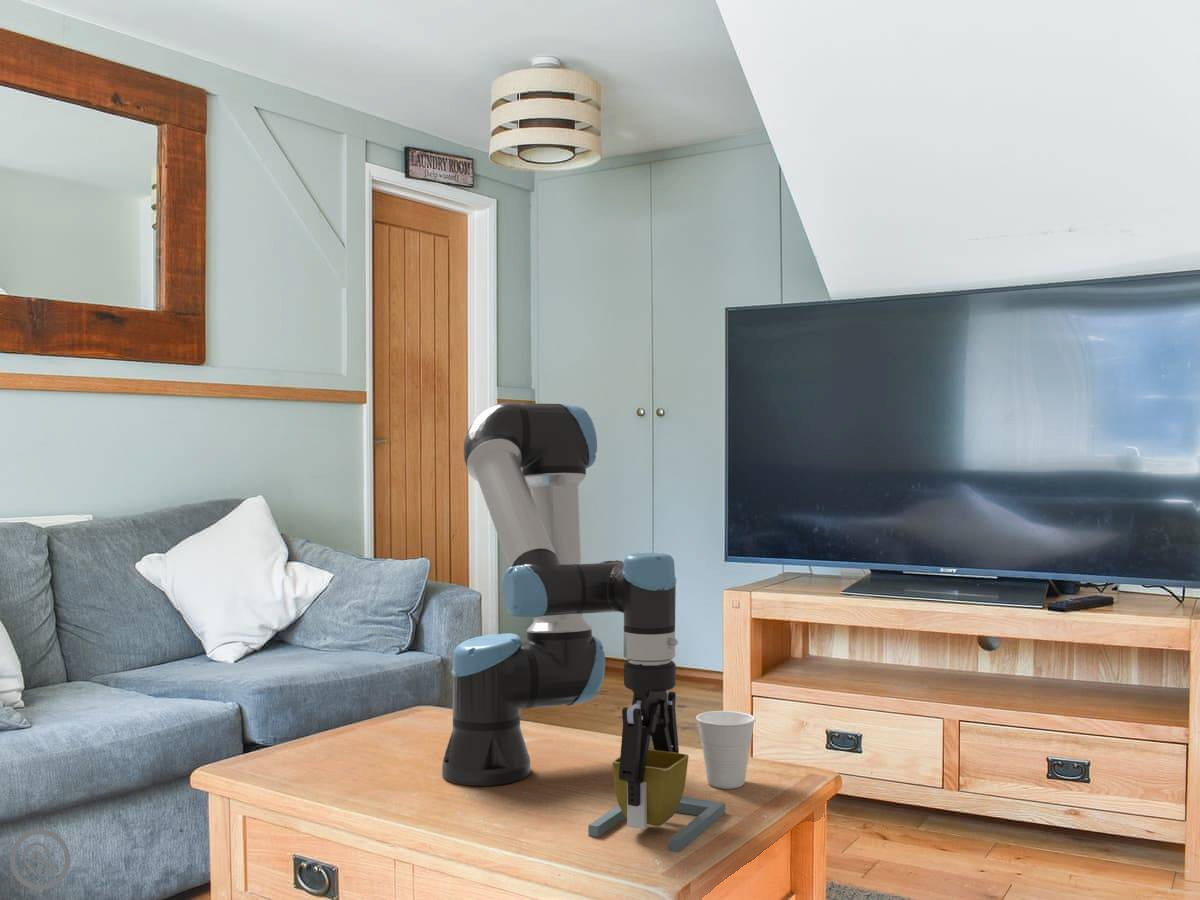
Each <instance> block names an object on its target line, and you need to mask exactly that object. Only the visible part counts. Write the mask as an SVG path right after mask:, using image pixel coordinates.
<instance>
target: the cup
mask: <svg viewBox="0 0 1200 900" xmlns="http://www.w3.org/2000/svg"><path fill="white" fill-rule="evenodd" d="M695 720H696V722H697V725H698V733H699V738H700V739H699V740H700V742H701V750H702V755H703V761H704V766H705V767H704V768H705V775H706V780H707V783H708V784H709V785H710V786H711V787H713V788H717V789H725V790H730V789H731V790H732V789H737V788H741V787H742V786H743V785H744V784H745V783H746V777H747V768H748V763H749V756H750V755H749V754H750V748H751V744H752V737H753V730H754V724H755V722H756V717H755V716H753V715H752V714H749V713H746V712H741V711H733V710H713V711H705V712H702V713H698V714H697V715H696V717H695Z"/></svg>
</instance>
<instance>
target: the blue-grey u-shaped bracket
mask: <svg viewBox="0 0 1200 900" xmlns="http://www.w3.org/2000/svg"><path fill="white" fill-rule="evenodd" d="M675 813H679V814H686V815H691V816H692V815H693V816H696V817H695V818H693V819H692V820H691V821H690V822H688V823H687V824H686V825H684V826H683V827H682V828H681V829H680V830H678V831H677V832H676V833H675V834H673V835H672V836H671V837H670V838H668V850H669V851H673V852H678V853H680V851H682V850H683V849H684V848H685V847H687V846H688V845H690V843H692V842H693V841H694V840H695V839H696V838H697V837H699V836H700V835H701V834H702V833H704V831H706V830H707V829H708V828H710V827H711V826H712V825H713V824H714V823H715V822H716V821H718V820H719V819H720V818H722V816H723V815H724V814H726V802H721V801H715V800H714V801H713V800H708V799H707V800H706V799H700V798H695V797H690V796H689V797H688V796H687V797H686V796H682V798H681V801H680V803H679V805H678V807H677V809H676V811H675ZM625 819H627V818H626V817H625V815H624V814H623V812H622V810H621V808H620V806H619V804H618V805H616V806H615V807H614V808H612V809H611V810H609V811H608V812H606V813H604V814H603V815H602V816H600V817H599V818H596V820H594V821H592V822H590V823H589V824H588V833H587V834H588V836H587V837H589V836H590V837H595V838H599V837H601V836H602V835H603V834H605V833H606V832H607V831H609V830H610V829H612V828H613V827H615V826H617V825H618V824H620V823H621V822H623V821H624V820H625Z"/></svg>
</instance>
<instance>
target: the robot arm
mask: <svg viewBox="0 0 1200 900" xmlns="http://www.w3.org/2000/svg"><path fill="white" fill-rule="evenodd" d="M597 452H598V439H597V431H596V427H595V425H594V422H593V419H592V418H591V416H590V414H588V412H587V411H586V409H584V408H583V407H581V406H579V405H572V404H564V403H529V402H528V403H526V402H524V403H522V402H521V403H517V402H516V403H515V402H502V403H499V404H495V405H492V406H490V407H489V408H487V409H486V410H484V411H482V412H481V413H480V414H479V415H478V416H477V417H476V418H475V419H474V420H473V422H472V423H471V425H470V426H469V428H468V429H467V432H466V435H465V439H464V441H463V459H464V463H465V466H466V469H467V471H468V473H469V476H471V478H472V479H473V480H475V481H477V482H478V485H479V488H480V490H481V494H482V495H483V498H484V501H485V503H486V507H487V510H488V512H489V516H490V517H491V521H492V523H493V526H494V529H495V532H496V534H497V538H498V540H499V542H500V545H501V548H502V550H503V554H504V556H505V558H506V562H507V564H508V568H507V569H506V570H505V572H504V574H503V578H502V582H501V583H502V585H501V594H502V596H503V597H502V598H503V599H502V600H503V601H502V602H503V606H504V609H505V610H506V611H507V613H508V614H509V615H510V616H512V617H519V618H520V617H523V618H534V621H533V622H532V624H531V625H530V626H529V627H528V628H527V629H526V634H527V636H526V640H525V641H522V640H521V638H520V636H519V635H518V634H515V633H508V632H506V633H499V634H498V633H493V634H492V633H491V634H486V635H481V636H480V635H479V636H476V637H472V638H470V639H467V640H464V641H463V642H461V643H459V644H458V645H457V646H456V647H455V648H454V651H453V655H452V657H453V658H452V668H451V676H452V731H451V733H450V737H449V740H448V743H447V745H446V748H445V749H446V750H445V753H444V757H443V759H442V764H441V765H442V766H441V767H442V772H441V774H442V777H443V778H444V780H446V781H448V782H451V783H453V784H454V783H455V784H457V785H458V784H459V785H464V786H477V787H480V786H481V787H482V786H483V787H486V786H487V787H488V786H498V785H505V784H510V783H515V782H518V781H522V780H523V779H525V778H527V777H528V776H529V775H530V774H531V758H530V755H529V752H528V748H527V746H526V745H527V744H526V742H525V738H524V735H523V732H522V730H521V711H522V710H528V709H529V710H530V709H537V708H539V709H540V708H548V707H549V708H550V707H555V706H556V707H557V706H569V707H571V706H575V705H576V704H577V705H578V704H583V703H588V702H590V701H592V700H593V699H594V698H595V697H596V696H597V695H598V693H599V691H600V689H601V688H602V685H603V682H604V678H605V677H604V676H605V674H606V673H605V671H606V656H605V651H604V646H603V642H602V641H601V640H600V639H599V638H598V637H597V636H594V635H593V634H592V633H593V632H592V630H593V629H592V626H591V625H590V624H589V623H588V622H587V621H586V620H585V619H584V616H583V615H584V614H600V613H602V614H603V613H616V612H617V613H621V614H623V658H624V659H626V661H625V662H624V663H623V683H624V684H623V685H624V687H625V688H626V689H628V690H630V691H632V692H633V696H632V701H631V706H630V707H622V711H621V715H622V731H621V745H620V756H619V757H620V768H619V779H620V780H623V781H627V818H626V827H628V828H634V829H640V830H646V829H648V827H647V826H648V825H647V781H643V779H644V773H645V767H646V761H647V755H648V749H649V743H650V738H651V737H652V741H653V746H654V750H659V751H666V752H675V753H680V750H679V739H678V737H679V736H678V725H677V712H676V701H677V700H676V696H677V695H676V692H675V691H670V690H672V689H673V688H675V687H676V684H677V681H676V679H677V678H676V675H677V674H676V671H677V670H676V669H677V668H676V666H677V664H676V663H675V662H674V661H673V659H674V658H675V657H676V646H677V645H678V643H679V642H678V639H677V638H676V598H677V597H676V596H677V595H676V594H677V593H676V591H677V590H676V587H677V586H676V585H677V577H676V573H675V572H676V571H675V560H674V557H672V556H671V555H670V554H667V553H660V552H658V553H657V552H636V553H634V552H633V553H629V554H627V555H626V556H625V558H624V559H623V561H622V560H604V561H601V562H599V563H597V562H596V563H595V562H594V563H581V561H582V557H581V532H580V531H581V528H580V503H579V502H580V501H579V498H580V497H579V486H580V484H581V483H582V482H583V481H584V479H586V477H587V469H589V468H590V467H592V466H593V465H594V463H595V461H596V458H597Z"/></svg>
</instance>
